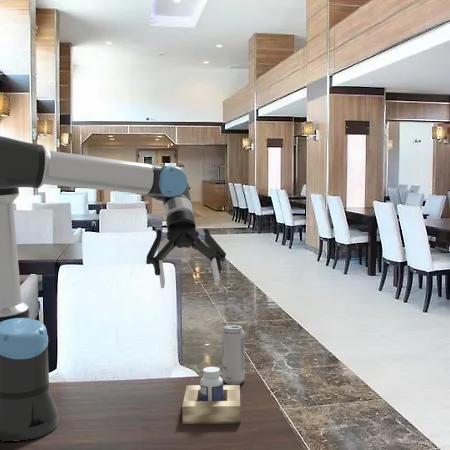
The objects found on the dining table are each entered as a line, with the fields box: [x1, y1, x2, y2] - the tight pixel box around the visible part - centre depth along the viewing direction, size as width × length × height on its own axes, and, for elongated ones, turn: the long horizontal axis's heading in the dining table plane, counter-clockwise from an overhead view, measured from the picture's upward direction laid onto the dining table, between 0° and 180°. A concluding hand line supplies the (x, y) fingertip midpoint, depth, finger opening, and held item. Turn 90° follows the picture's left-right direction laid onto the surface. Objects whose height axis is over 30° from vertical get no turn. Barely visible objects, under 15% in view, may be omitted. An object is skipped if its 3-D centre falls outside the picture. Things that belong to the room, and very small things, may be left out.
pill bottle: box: [199, 366, 224, 401], centre depth 137 cm, size 5×5×10 cm
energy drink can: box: [221, 324, 246, 385], centre depth 157 cm, size 6×6×15 cm
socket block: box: [182, 384, 241, 425], centre depth 138 cm, size 13×13×4 cm
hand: (190, 283), depth 143 cm, fingers open, 13 cm apart
